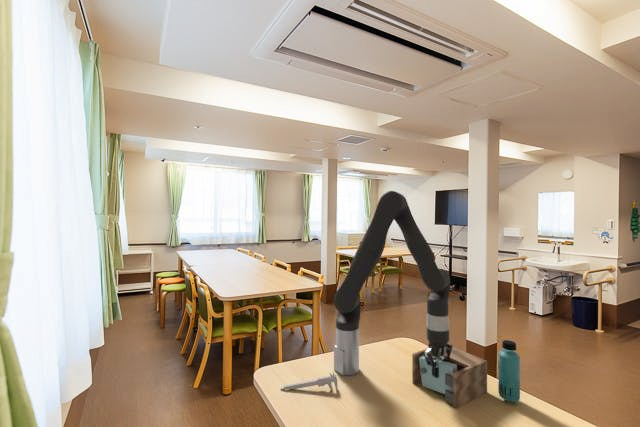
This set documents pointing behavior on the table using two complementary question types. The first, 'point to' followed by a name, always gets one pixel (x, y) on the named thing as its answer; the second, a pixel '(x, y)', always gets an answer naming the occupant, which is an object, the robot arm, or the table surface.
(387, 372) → the table surface
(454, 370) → the door
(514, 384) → the beverage bottle
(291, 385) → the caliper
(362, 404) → the table surface
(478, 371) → the cabinet
